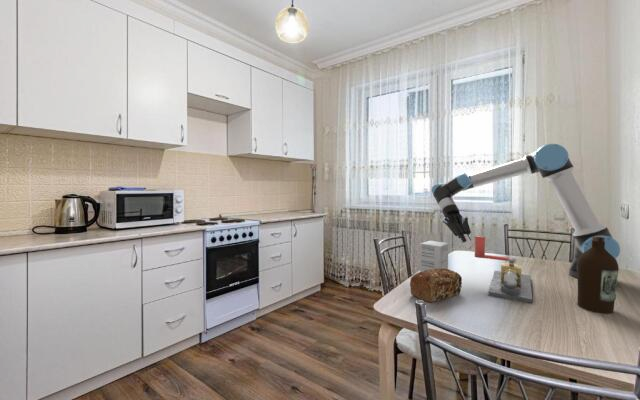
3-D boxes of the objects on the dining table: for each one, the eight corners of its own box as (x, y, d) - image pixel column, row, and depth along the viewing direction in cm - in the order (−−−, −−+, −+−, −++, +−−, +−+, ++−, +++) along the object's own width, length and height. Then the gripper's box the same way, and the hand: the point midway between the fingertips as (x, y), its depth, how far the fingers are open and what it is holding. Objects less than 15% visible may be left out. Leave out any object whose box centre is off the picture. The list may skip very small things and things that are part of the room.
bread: (430, 304, 110) (431, 277, 109) (408, 295, 119) (408, 270, 118) (462, 295, 119) (463, 269, 119) (440, 287, 128) (440, 263, 128)
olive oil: (567, 303, 110) (570, 235, 109) (590, 300, 113) (593, 234, 111) (600, 315, 100) (604, 240, 99) (624, 312, 102) (628, 239, 101)
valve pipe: (494, 273, 147) (495, 251, 146) (529, 278, 139) (530, 255, 138) (488, 295, 118) (489, 268, 118) (532, 303, 111) (533, 274, 110)
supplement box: (428, 275, 144) (429, 240, 143) (448, 279, 138) (449, 242, 137) (419, 280, 137) (419, 243, 136) (439, 284, 131) (440, 246, 130)
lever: (516, 260, 129) (516, 239, 128) (516, 262, 125) (516, 240, 125) (475, 255, 137) (475, 235, 137) (473, 257, 134) (474, 236, 133)
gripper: (456, 212, 160) (478, 251, 144) (434, 213, 157) (454, 252, 142) (463, 203, 154) (487, 242, 139) (440, 203, 152) (461, 243, 136)
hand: (470, 247), depth 140 cm, fingers closed
